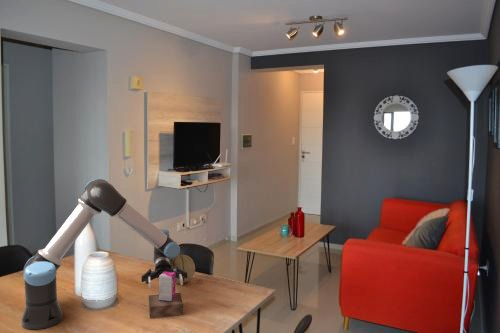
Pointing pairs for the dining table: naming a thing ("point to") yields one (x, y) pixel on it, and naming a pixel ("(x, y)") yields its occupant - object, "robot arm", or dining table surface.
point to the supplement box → (167, 286)
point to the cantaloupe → (183, 266)
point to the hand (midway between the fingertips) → (165, 283)
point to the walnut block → (165, 306)
